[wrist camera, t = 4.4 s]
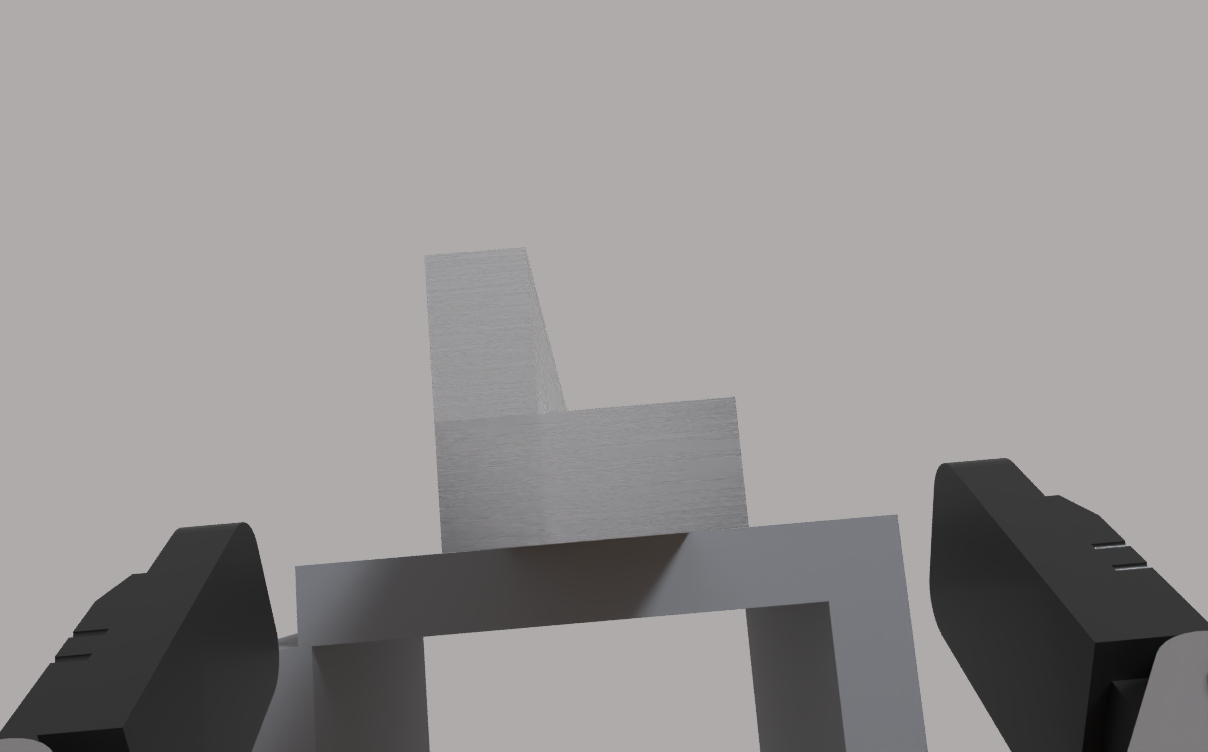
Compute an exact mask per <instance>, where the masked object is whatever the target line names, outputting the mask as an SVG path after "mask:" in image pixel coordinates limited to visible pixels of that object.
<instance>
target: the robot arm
mask: <svg viewBox="0 0 1208 752" xmlns="http://www.w3.org/2000/svg"><path fill="white" fill-rule="evenodd" d="M930 596H931V603H932V608H933V612H934V616H935V619H936V622H937V625H938V628H939V630H940V632H941V634H942V636H943V638H944V639H945V641H946V643H947V644H948V646H949V648H950V649H951V651H952V653H953V654H954V656H955V658H956V659H957V661H958V663H959V664H960V666H961V668H962V669H963V671H964V673H965V675H966V676H967V678H968V680H969V681H970V683H971V685H972V686H973V688H974V690H975V691H976V693H977V695H978V696H979V698H980V699H981V701H982V703H983V705H984V706H985V708H986V710H987V711H988V713H989V715H990V716H991V718H992V720H993V721H994V723H995V725H996V727H997V728H998V730H999V732H1000V733H1001V735H1002V737H1003V738H1004V740H1005V742H1006V743H1007V745H1008V747H1009V748H1010V750H1011V751H1012V752H1208V622H1207V621H1206V620H1205V619H1204V618H1203V617H1202V616H1201V615H1200V614H1199V613H1198V612H1197V611H1196V610H1195V609H1194V608H1193V607H1192V606H1191V605H1190V604H1189V603H1188V602H1187V601H1186V600H1185V599H1184V598H1183V597H1182V596H1181V595H1180V594H1179V593H1177V591H1176V590H1175V589H1174V588H1173V587H1172V586H1170V585H1169V584H1168V583H1167V582H1166V581H1165V580H1164V579H1163V578H1162V577H1161V576H1160V575H1159V574H1158V573H1157V572H1156V571H1155V570H1154V569H1153V568H1148V567H1147V562H1146V561H1145V560H1144V559H1143V558H1142V557H1141V556H1140V555H1139V554H1138V553H1137V552H1136V551H1135V550H1134V549H1133V548H1132V547H1131V546H1126V545H1125V541H1124V539H1123V538H1122V537H1121V536H1119V535H1118V534H1117V533H1116V532H1115V531H1114V530H1113V529H1112V528H1111V527H1110V526H1109V525H1108V524H1107V523H1106V522H1105V521H1104V520H1103V519H1102V518H1101V517H1100V516H1099V515H1097V514H1095V513H1093V512H1091V511H1089V510H1087V509H1085V508H1083V507H1081V506H1079V505H1077V504H1075V503H1073V502H1071V501H1069V500H1067V499H1065V498H1063V497H1061V496H1059V495H1056V496H1044V494H1043V493H1042V492H1041V491H1040V490H1039V489H1038V488H1037V487H1036V486H1035V485H1034V484H1033V483H1032V482H1031V481H1030V480H1029V479H1028V478H1027V477H1026V476H1025V475H1024V474H1023V472H1022V471H1021V470H1020V469H1019V468H1018V467H1017V466H1016V465H1015V464H1014V463H1013V462H1011V460H1009V459H1007V458H1000V459H989V460H977V461H965V462H954V463H944V464H941V465H940V466H939V468H938V470H937V473H936V476H935V483H934V500H933V519H932V538H931V558H930ZM73 633H74V634H73V638H68V640H67V641H66V642H65V644H64V645H63V647H62V648H61V649H60V651H59V652H58V654H57V655H56V656H55V663H50V664H49V666H48V667H47V668H46V670H45V671H44V673H43V674H42V675H41V677H40V678H39V679H38V681H37V682H36V684H35V685H34V686H33V688H32V689H31V690H30V692H29V693H28V694H27V696H26V697H25V699H24V700H23V701H22V703H21V704H20V706H19V707H18V709H17V710H16V711H15V712H14V714H13V715H12V716H11V718H10V719H9V721H8V722H7V723H6V725H5V726H4V727H3V729H2V730H1V731H0V752H252V750H253V747H254V744H255V742H256V739H257V737H258V734H259V731H260V729H261V726H262V724H263V721H264V718H265V716H266V713H267V711H268V708H269V705H270V703H271V700H272V698H273V695H274V692H275V689H276V685H277V680H278V673H279V644H278V637H277V632H276V627H275V623H274V618H273V613H272V609H271V605H270V600H269V596H268V591H267V586H266V582H265V578H264V573H263V568H262V564H261V559H260V555H259V550H258V546H257V542H256V538H255V535H254V533H253V531H252V529H251V527H250V526H249V525H248V524H247V523H244V522H242V523H231V524H220V525H219V524H218V525H207V526H196V527H184V528H179V529H177V530H176V531H175V532H174V534H173V535H172V536H171V538H170V539H169V541H168V542H167V544H166V545H165V547H164V548H163V550H162V551H161V553H160V554H159V556H158V557H157V559H156V560H155V562H154V563H153V565H152V566H151V567H150V569H149V570H148V572H147V573H142V574H132V575H131V576H129V577H128V578H127V579H125V580H124V581H123V582H121V583H120V584H119V585H118V586H116V587H114V588H113V589H112V590H110V591H109V592H108V593H106V594H105V595H104V596H102V597H101V598H99V599H98V600H97V601H95V603H94V604H93V605H92V607H91V608H90V610H89V611H88V612H87V614H86V615H85V616H84V618H83V619H82V620H81V622H80V623H79V624H78V626H77V627H76V629H75V630H74V631H73Z"/></svg>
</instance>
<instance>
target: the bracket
mask: <svg viewBox="0 0 1208 752" xmlns="http://www.w3.org/2000/svg"><path fill="white" fill-rule="evenodd" d="M425 271H426V288H427V303H428V321H429V338H430V355H431V372H432V389H433V406H434V422H435V437H436V456H437V472H438V489H439V507H440V522H441V539H442V553H451V552H464V551H477V550H490V549H503V548H515V547H526V546H538V545H550V544H561V543H573V542H584V541H596V540H608V539H619V538H631V537H643V536H654V535H666V534H677V533H689V532H700V531H710V530H721V529H731V528H742V527H749V525H748V516H747V507H746V497H745V488H744V478H743V469H742V460H741V450H740V441H739V431H738V421H737V413H736V403H735V397H731V398H719V399H707V400H695V401H684V402H683V401H682V402H670V403H658V404H647V405H634V406H623V407H611V408H599V409H587V410H575V411H567V408H566V405H565V400H564V397H563V393H562V389H561V385H560V381H559V377H558V373H557V369H556V365H555V361H554V357H553V354H552V350H551V346H550V342H549V338H548V334H547V330H546V326H545V323H544V318H543V315H542V311H541V307H540V303H539V299H538V295H537V291H536V287H535V283H534V279H533V276H532V272H531V268H530V264H529V261H528V256H527V252H526V248H512V249H499V250H487V251H475V252H462V253H451V254H437V255H425Z"/></svg>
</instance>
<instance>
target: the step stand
mask: <svg viewBox="0 0 1208 752" xmlns="http://www.w3.org/2000/svg"><path fill="white" fill-rule="evenodd" d="M295 571H296V597H297V625H298V633H297V634H294V635H290V636H287V637H284V638H280V639H278V644H279V673H278V680H277V685H276V689H275V692H274V695H273V698H272V700H271V703H270V705H269V708H268V711H267V713H266V716H265V718H264V721H263V724H262V726H261V729H260V731H259V734H258V737H257V739H256V742H255V744H254V747H253V750H252V752H429V734H428V733H429V732H428V715H427V698H426V679H425V661H424V643H423V637H425V636H436V635H446V634H459V633H470V632H482V631H493V630H504V629H516V628H527V627H539V626H550V625H562V624H573V623H585V622H596V621H607V620H619V619H630V618H642V617H652V616H665V615H676V614H687V613H699V612H711V611H722V610H734V609H745V608H746V617H747V627H748V636H749V646H750V656H751V665H752V675H753V684H754V694H755V704H756V713H757V723H758V733H759V742H760V752H928V750H927V743H926V735H925V726H924V719H923V712H922V703H921V696H920V688H919V680H918V673H917V664H916V657H915V649H914V641H913V634H912V626H911V618H910V610H909V602H908V594H907V587H906V579H905V571H904V563H903V556H902V548H901V540H900V532H899V524H898V517H897V515H887V516H876V517H863V518H852V519H840V520H829V521H817V522H805V523H794V524H783V525H770V526H759V527H747V528H735V529H724V530H712V531H701V532H689V533H677V534H666V535H654V536H643V537H631V538H619V539H608V540H596V541H584V542H573V543H561V544H550V545H538V546H526V547H515V548H503V549H491V550H480V551H468V552H456V553H445V554H434V555H422V556H410V557H399V558H387V559H375V560H364V561H352V562H340V563H329V564H317V565H305V566H296V567H295Z"/></svg>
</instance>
